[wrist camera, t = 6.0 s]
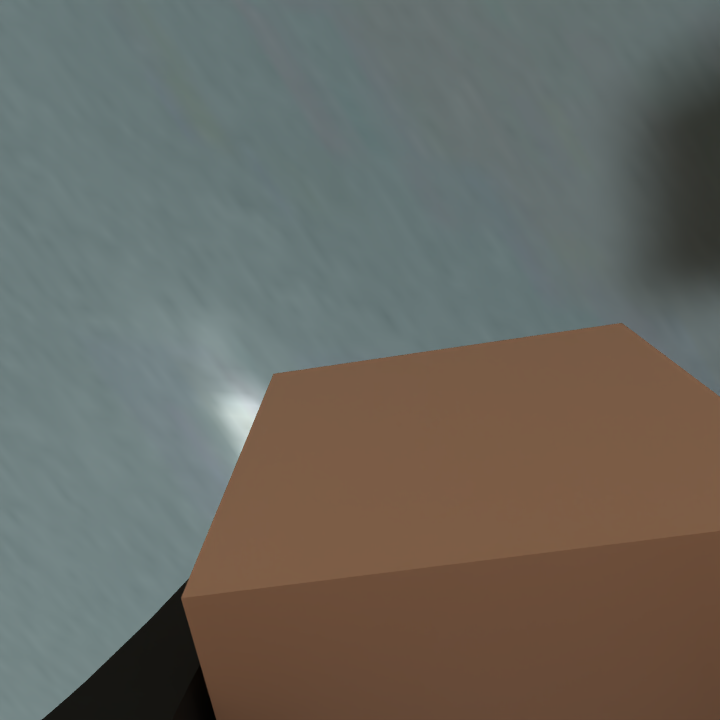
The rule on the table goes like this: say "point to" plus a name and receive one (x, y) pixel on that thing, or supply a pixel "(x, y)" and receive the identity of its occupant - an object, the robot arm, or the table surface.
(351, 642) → the terracotta block
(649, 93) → the table surface
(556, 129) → the table surface
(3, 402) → the table surface
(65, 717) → the robot arm
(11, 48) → the table surface
